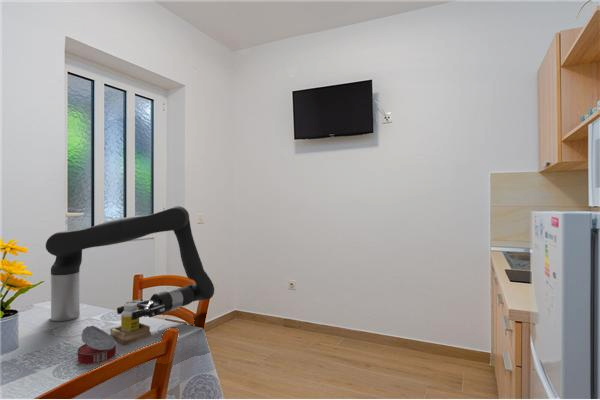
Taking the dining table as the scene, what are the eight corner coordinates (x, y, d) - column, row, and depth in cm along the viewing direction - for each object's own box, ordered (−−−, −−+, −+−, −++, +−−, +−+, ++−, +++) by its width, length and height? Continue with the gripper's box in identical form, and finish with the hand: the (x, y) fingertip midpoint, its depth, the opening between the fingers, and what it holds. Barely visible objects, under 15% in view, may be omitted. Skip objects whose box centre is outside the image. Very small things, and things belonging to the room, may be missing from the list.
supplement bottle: (132, 337, 115) (132, 307, 115) (117, 335, 116) (117, 306, 116) (142, 331, 121) (142, 302, 120) (128, 329, 122) (128, 301, 122)
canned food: (101, 364, 109) (115, 330, 114) (115, 371, 103) (129, 335, 107) (63, 358, 102) (79, 322, 106) (75, 365, 96) (93, 327, 100)
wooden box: (109, 338, 117) (109, 329, 117) (135, 329, 125) (135, 320, 125) (125, 345, 112) (125, 335, 112) (151, 335, 120) (151, 326, 120)
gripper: (155, 288, 134) (112, 298, 120) (179, 294, 126) (137, 306, 113) (155, 307, 134) (112, 320, 121) (179, 315, 126) (137, 329, 113)
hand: (124, 313), depth 117 cm, fingers open, 8 cm apart
